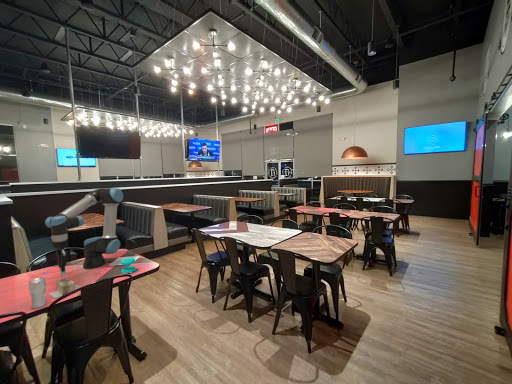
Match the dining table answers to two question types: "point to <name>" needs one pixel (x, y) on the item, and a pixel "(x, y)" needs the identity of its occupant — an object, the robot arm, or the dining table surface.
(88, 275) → the dining table surface
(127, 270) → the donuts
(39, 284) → the beer glass
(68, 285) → the maple block
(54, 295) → the grey mat
